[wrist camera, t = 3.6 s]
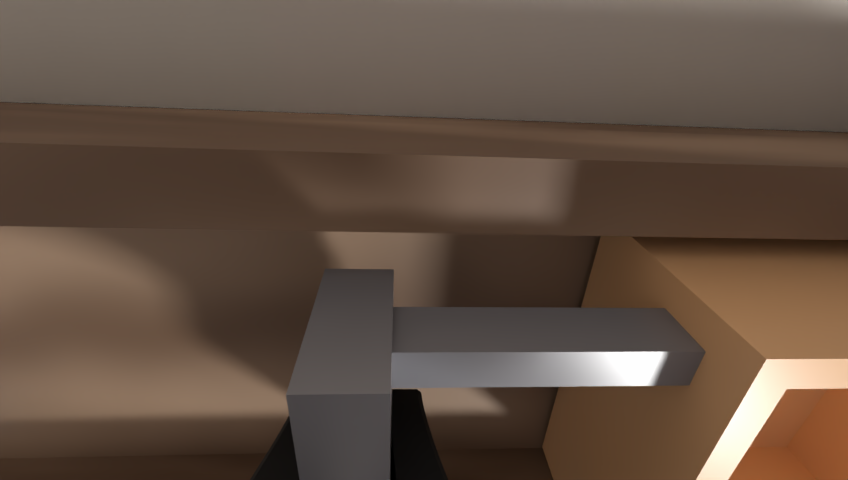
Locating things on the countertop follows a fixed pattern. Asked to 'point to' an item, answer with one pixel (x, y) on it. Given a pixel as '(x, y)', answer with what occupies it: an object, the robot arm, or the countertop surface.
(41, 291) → the bay
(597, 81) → the countertop surface
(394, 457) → the robot arm
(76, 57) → the countertop surface
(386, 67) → the countertop surface
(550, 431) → the drawer
